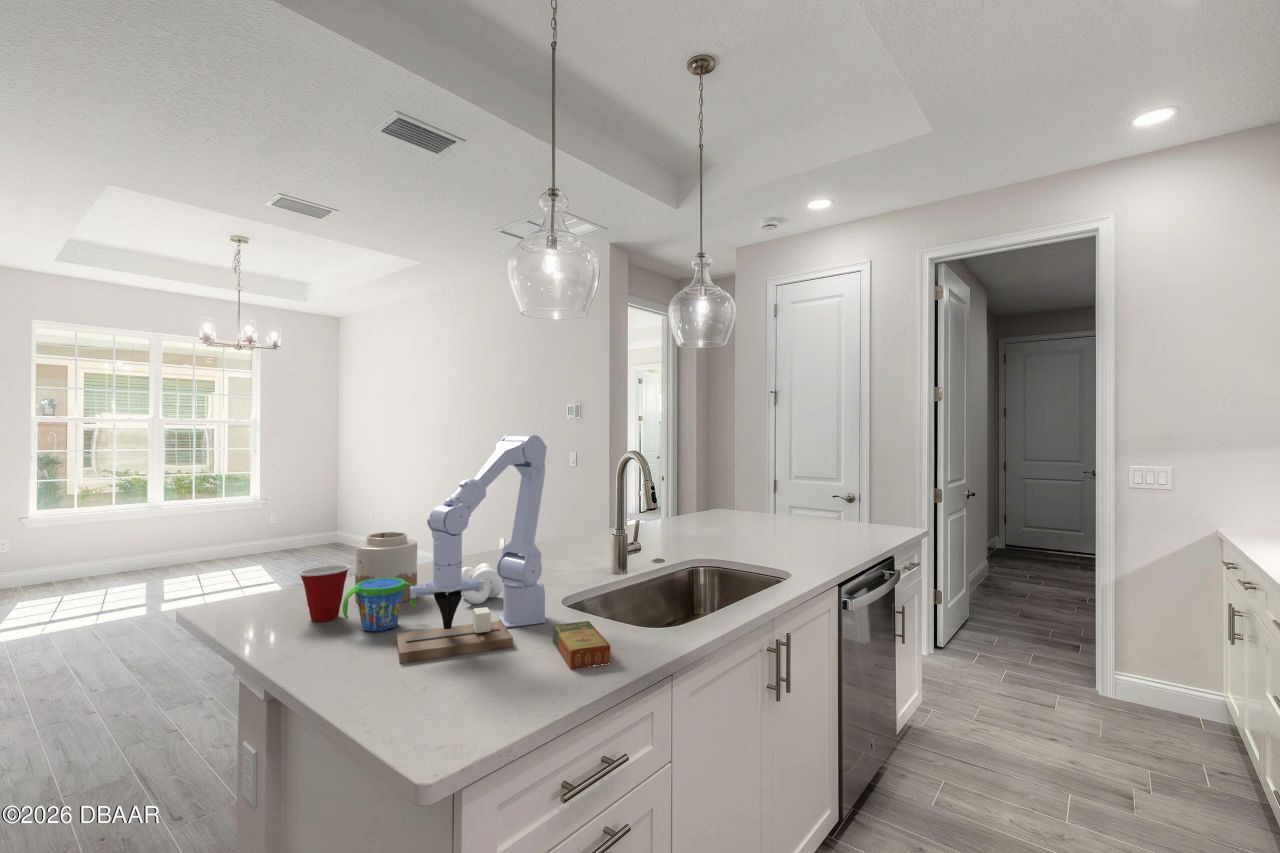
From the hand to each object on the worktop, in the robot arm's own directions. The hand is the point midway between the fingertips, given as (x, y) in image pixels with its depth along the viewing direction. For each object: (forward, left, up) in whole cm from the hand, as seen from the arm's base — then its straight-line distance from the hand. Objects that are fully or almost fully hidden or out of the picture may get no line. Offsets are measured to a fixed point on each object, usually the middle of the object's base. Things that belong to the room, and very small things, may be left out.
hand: (447, 627), depth 126 cm
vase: (+11, -43, -4) cm, 44 cm away
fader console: (-1, 0, -4) cm, 4 cm away
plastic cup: (+25, -30, -4) cm, 39 cm away
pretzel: (-12, -31, -4) cm, 34 cm away
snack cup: (+13, -18, -4) cm, 22 cm away
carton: (-24, +14, -4) cm, 29 cm away
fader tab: (-7, 0, -1) cm, 7 cm away
